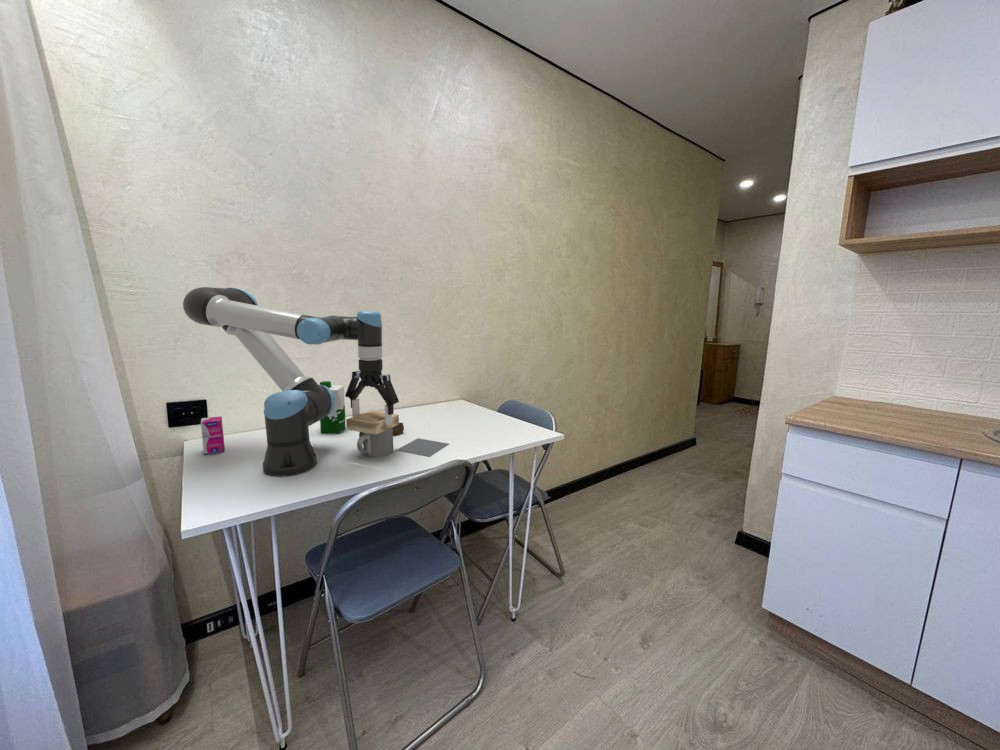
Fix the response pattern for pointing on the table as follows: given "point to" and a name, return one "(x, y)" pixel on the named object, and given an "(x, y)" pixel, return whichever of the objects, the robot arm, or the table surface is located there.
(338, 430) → the milk carton
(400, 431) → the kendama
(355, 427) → the lid
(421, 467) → the table surface
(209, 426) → the supplement box
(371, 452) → the coffee mug
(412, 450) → the mat
